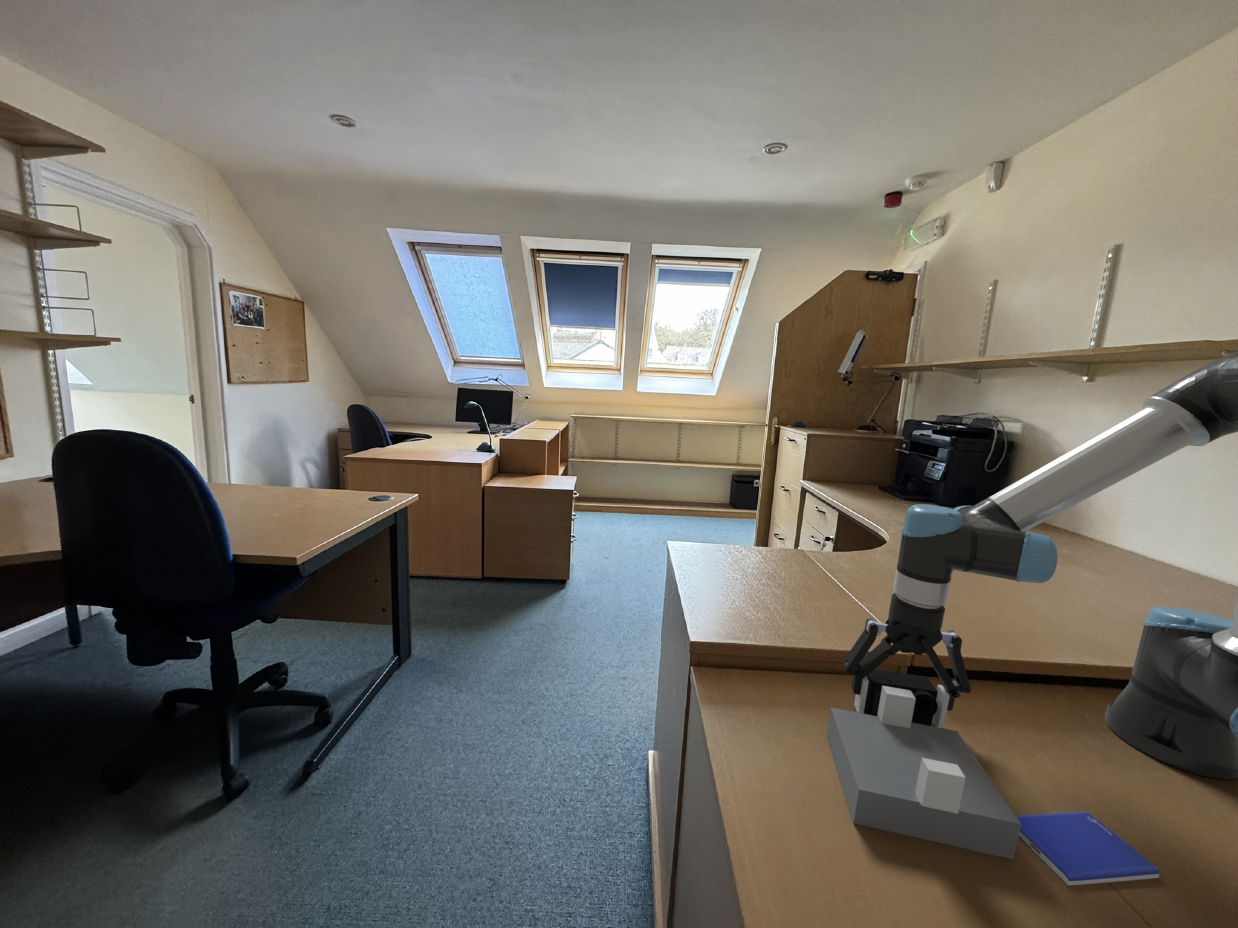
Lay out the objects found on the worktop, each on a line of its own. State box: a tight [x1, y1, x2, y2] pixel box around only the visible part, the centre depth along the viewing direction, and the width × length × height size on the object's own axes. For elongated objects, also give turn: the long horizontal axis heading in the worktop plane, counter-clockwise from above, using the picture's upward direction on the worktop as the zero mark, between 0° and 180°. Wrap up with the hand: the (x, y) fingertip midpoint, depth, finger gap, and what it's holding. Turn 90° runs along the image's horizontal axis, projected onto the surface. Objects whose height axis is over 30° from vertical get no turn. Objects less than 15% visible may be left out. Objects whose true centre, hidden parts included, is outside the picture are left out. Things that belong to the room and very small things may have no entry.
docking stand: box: [826, 686, 1022, 860], centre depth 66 cm, size 18×17×10 cm
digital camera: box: [863, 669, 938, 726], centre depth 81 cm, size 10×5×7 cm, turn 81°
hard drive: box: [1016, 810, 1161, 886], centre depth 59 cm, size 2×8×12 cm
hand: (897, 717), depth 81 cm, fingers open, 12 cm apart
